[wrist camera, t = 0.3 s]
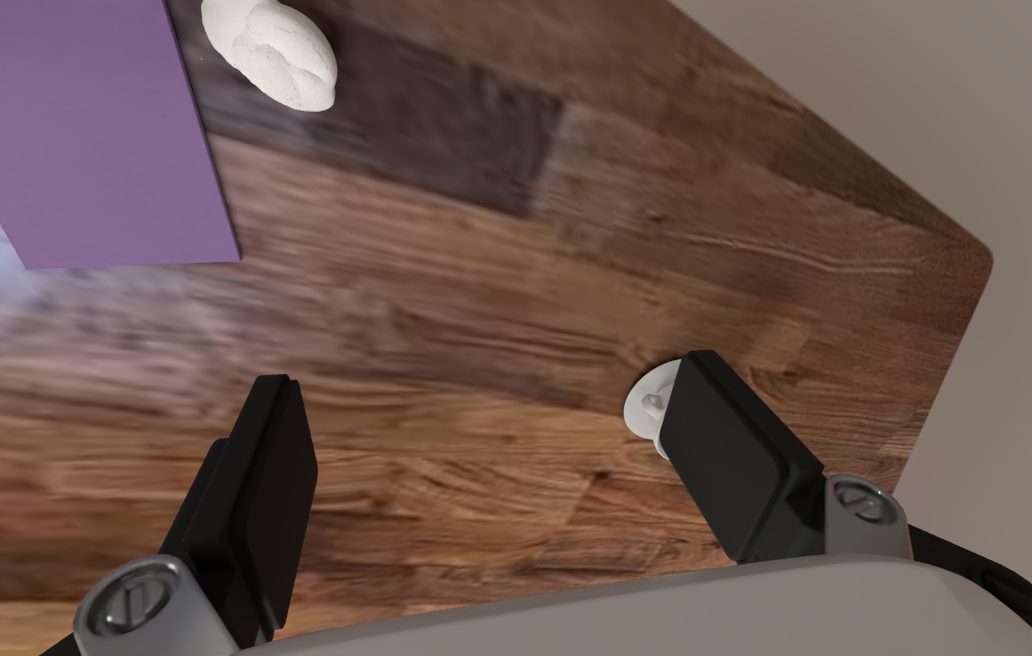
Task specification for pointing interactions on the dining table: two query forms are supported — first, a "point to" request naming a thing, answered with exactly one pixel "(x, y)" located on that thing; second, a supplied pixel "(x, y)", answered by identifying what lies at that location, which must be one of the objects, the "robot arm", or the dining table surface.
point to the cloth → (103, 140)
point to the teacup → (651, 402)
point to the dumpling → (274, 50)
